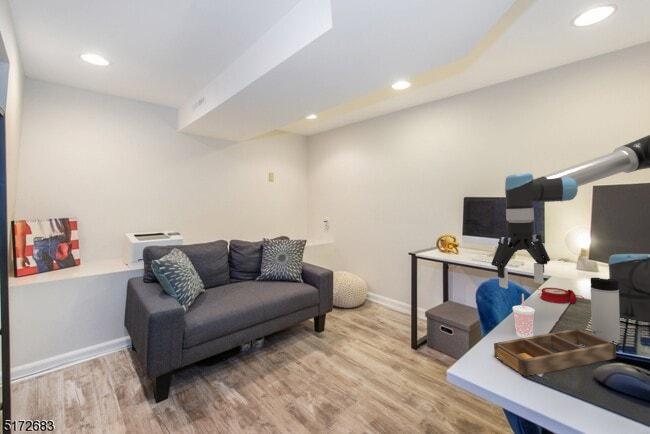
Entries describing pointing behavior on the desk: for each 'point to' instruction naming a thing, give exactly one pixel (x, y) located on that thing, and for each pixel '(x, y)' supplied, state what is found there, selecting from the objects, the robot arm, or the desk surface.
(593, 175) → the robot arm
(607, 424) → the desk surface
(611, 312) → the travel mug
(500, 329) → the desk surface
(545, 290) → the alarm clock
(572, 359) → the walnut rack
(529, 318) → the beverage cup
